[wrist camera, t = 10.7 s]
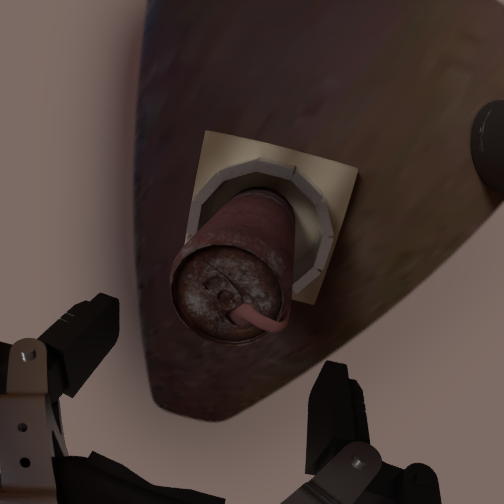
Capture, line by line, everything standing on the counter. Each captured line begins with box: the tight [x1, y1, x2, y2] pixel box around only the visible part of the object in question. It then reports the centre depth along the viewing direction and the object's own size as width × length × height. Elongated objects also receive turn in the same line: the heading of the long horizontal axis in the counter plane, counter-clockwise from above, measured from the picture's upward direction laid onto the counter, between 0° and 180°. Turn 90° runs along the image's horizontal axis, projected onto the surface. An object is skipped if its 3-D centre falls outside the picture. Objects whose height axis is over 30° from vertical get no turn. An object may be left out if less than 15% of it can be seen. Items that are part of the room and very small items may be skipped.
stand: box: [185, 131, 358, 305], centre depth 28 cm, size 13×13×1 cm
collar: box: [186, 157, 334, 296], centre depth 26 cm, size 11×11×4 cm
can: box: [170, 187, 296, 347], centre depth 21 cm, size 6×6×14 cm
